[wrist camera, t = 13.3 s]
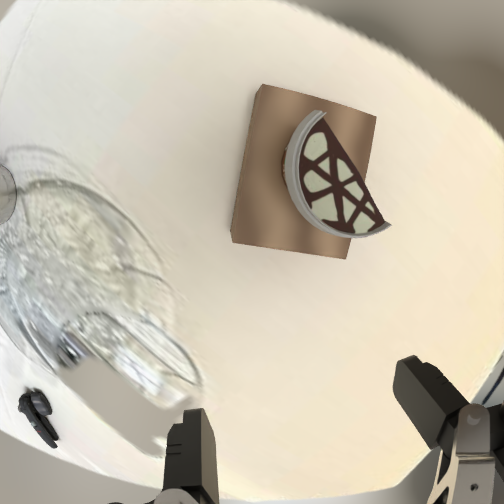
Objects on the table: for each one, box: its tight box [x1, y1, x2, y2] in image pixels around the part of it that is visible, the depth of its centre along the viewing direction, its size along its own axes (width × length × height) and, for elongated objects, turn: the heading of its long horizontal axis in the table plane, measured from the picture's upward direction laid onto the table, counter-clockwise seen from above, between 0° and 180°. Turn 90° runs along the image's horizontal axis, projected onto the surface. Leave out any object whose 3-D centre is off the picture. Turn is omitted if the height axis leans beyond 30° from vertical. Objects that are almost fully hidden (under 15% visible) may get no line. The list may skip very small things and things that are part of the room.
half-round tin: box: [281, 110, 391, 238], centre depth 28 cm, size 12×6×10 cm, turn 36°
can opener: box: [18, 391, 59, 448], centre depth 44 cm, size 18×7×6 cm, turn 175°
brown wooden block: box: [230, 84, 377, 259], centre depth 36 cm, size 14×18×6 cm
